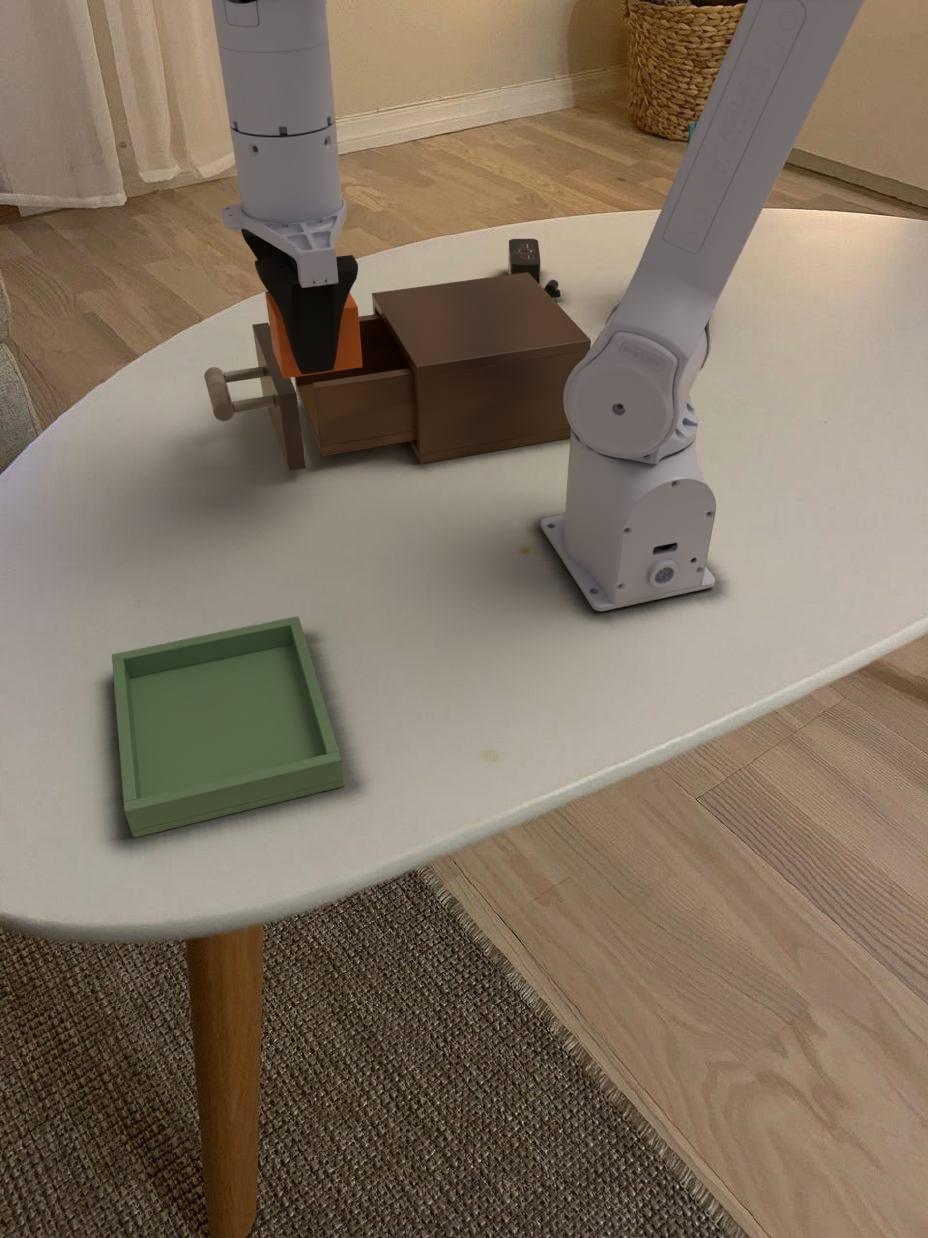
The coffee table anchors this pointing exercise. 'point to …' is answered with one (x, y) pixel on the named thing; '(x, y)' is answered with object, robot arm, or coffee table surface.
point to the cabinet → (484, 363)
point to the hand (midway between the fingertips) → (309, 353)
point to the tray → (221, 726)
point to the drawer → (329, 396)
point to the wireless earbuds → (528, 262)
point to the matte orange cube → (347, 342)
